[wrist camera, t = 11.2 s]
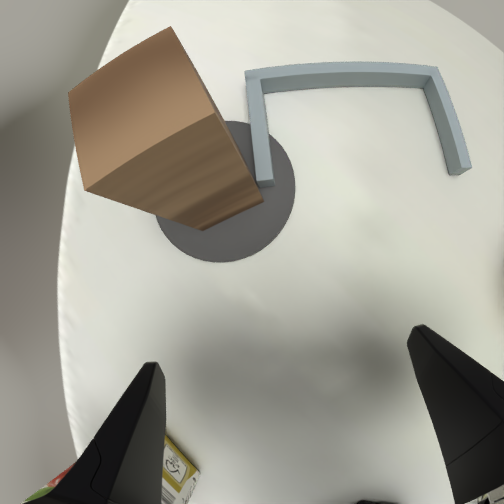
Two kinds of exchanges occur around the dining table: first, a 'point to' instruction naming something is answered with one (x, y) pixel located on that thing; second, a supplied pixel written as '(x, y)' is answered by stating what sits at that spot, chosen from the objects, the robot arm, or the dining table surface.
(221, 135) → the walnut block
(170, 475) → the juice carton
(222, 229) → the coaster
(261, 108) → the grey u-frame
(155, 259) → the dining table surface
